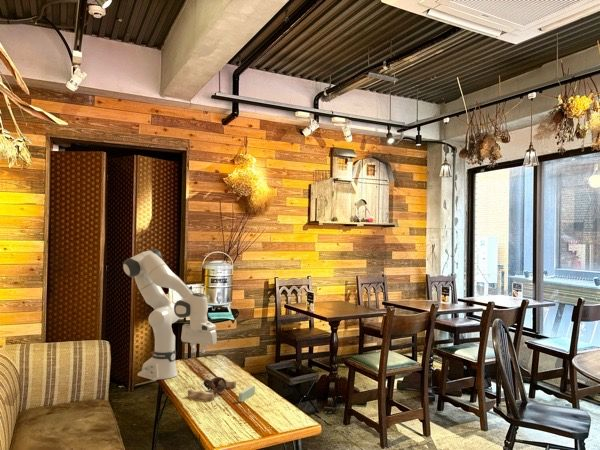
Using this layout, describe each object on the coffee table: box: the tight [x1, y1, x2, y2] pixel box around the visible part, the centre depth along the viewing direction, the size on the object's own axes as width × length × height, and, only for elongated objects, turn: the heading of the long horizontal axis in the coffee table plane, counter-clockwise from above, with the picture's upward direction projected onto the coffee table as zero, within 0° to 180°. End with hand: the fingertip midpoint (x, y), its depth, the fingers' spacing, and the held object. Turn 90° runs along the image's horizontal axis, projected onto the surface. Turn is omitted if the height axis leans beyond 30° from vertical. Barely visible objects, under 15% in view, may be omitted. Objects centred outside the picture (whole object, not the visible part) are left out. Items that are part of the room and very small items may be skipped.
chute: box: [187, 377, 237, 402], centre depth 230 cm, size 14×22×3 cm, turn 156°
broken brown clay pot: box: [203, 376, 228, 396], centre depth 230 cm, size 12×10×8 cm
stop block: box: [238, 385, 256, 403], centre depth 222 cm, size 2×12×4 cm, turn 156°
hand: (198, 351), depth 234 cm, fingers open, 4 cm apart
